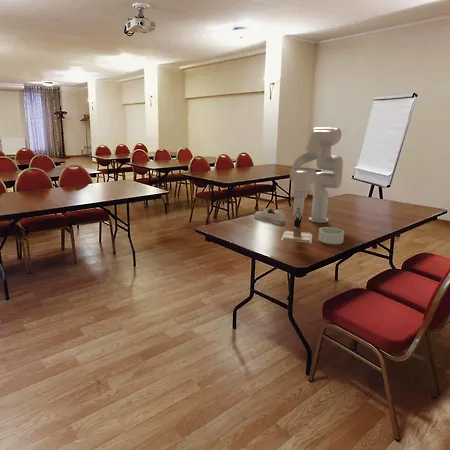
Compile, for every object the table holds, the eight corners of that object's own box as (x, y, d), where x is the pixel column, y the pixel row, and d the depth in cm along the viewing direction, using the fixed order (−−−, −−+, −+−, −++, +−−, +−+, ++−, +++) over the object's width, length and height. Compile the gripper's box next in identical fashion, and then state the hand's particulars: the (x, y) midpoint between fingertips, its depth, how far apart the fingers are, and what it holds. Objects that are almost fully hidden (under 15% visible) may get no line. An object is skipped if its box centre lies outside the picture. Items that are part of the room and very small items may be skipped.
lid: (285, 232, 213) (286, 223, 212) (310, 234, 210) (311, 225, 208) (283, 239, 200) (283, 230, 199) (309, 242, 197) (310, 232, 195)
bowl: (318, 236, 208) (319, 226, 207) (342, 238, 205) (343, 228, 204) (318, 243, 196) (318, 232, 195) (343, 246, 193) (344, 235, 192)
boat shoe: (251, 217, 248) (252, 204, 245) (261, 215, 253) (262, 203, 250) (277, 226, 228) (278, 212, 226) (287, 224, 233) (288, 210, 231)
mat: (283, 232, 215) (284, 231, 214) (312, 235, 211) (312, 234, 211) (280, 241, 200) (281, 240, 199) (311, 243, 196) (311, 242, 196)
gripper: (294, 191, 207) (291, 220, 212) (291, 196, 191) (289, 228, 195) (307, 191, 205) (305, 221, 210) (306, 197, 189) (303, 229, 194)
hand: (297, 224), depth 203 cm, fingers open, 9 cm apart
